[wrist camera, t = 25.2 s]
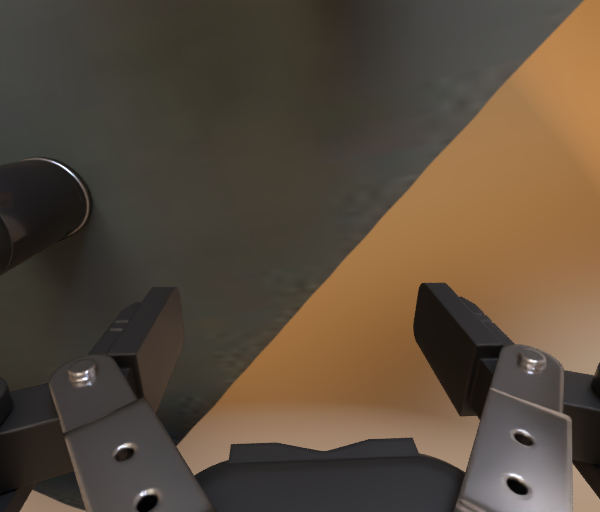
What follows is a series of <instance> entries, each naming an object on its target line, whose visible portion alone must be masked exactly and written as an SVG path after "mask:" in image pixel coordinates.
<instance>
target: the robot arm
mask: <svg viewBox="0 0 600 512" xmlns="http://www.w3.org/2000/svg"><path fill="white" fill-rule="evenodd" d="M91 209H92V201H91V196H90V193H89V190H88V188H87V186H86V184H85V182H84V181H83V179H82V178H81V177H80V176H79V175H78V174H77V173H76V172H75V171H74V170H73V169H72V168H70V167H69V166H67V165H66V164H64V163H62V162H60V161H57V160H55V159H51V158H45V157H35V158H29V159H25V160H22V161H19V162H15V163H9V164H4V165H0V276H1V275H2V274H4V273H6V272H7V271H9V270H11V269H12V268H14V267H16V266H17V265H19V264H21V263H22V262H24V261H26V260H27V259H29V258H31V257H32V256H34V255H36V254H37V253H39V252H41V251H42V250H44V249H46V248H48V247H49V246H51V245H53V244H54V243H56V242H58V241H61V240H63V239H65V238H67V237H66V236H68V235H70V234H72V233H74V232H76V231H78V230H79V229H81V228H82V227H83V226H84V225H85V224H86V222H87V221H88V219H89V217H90V214H91ZM76 233H77V232H76ZM74 234H75V233H74ZM74 234H72V235H74ZM72 235H70V236H72ZM70 236H68V237H70ZM64 237H65V238H64ZM413 329H414V336H415V340H416V342H417V344H418V345H419V347H420V349H421V351H422V352H423V354H424V356H425V357H426V359H427V361H428V362H429V364H430V366H431V368H432V369H433V371H434V373H435V375H436V376H437V378H438V380H439V381H440V383H441V385H442V386H443V388H444V390H445V392H446V393H447V395H448V397H449V398H450V400H451V402H452V404H453V405H454V407H455V409H456V410H457V412H458V414H459V415H460V416H478V418H479V419H480V423H479V427H478V430H477V434H476V438H475V441H474V444H473V448H472V451H471V455H470V458H469V462H468V466H467V469H466V472H463V471H462V470H460V469H459V468H457V467H455V466H453V465H451V464H449V463H447V462H445V461H442V460H440V459H437V458H435V457H432V456H428V455H425V454H420V453H418V450H417V448H416V445H415V443H414V440H413V438H393V439H368V440H365V441H361V442H358V443H354V444H350V445H347V446H343V447H340V448H337V449H333V450H329V451H318V450H312V449H307V448H301V447H296V446H291V445H286V444H281V443H256V444H231V449H230V456H229V460H228V461H224V462H221V463H218V464H216V465H213V466H211V467H209V468H207V469H205V470H203V471H201V472H199V473H198V474H196V475H195V476H194V475H193V473H192V472H191V470H190V468H189V467H188V465H187V463H186V462H185V460H184V459H183V457H182V456H181V454H180V452H179V451H178V449H177V447H176V446H175V444H174V442H173V441H172V439H171V438H170V436H169V434H168V433H167V431H166V430H165V428H164V426H163V425H162V423H161V421H160V420H159V418H158V417H157V415H156V411H157V409H158V406H159V404H160V401H161V399H162V396H163V394H164V392H165V389H166V387H167V384H168V382H169V379H170V377H171V374H172V372H173V369H174V367H175V364H176V362H177V359H178V357H179V354H180V352H181V349H182V347H183V342H184V325H183V317H182V309H181V301H180V294H179V290H178V288H177V287H153V288H152V289H151V290H150V291H149V293H148V294H147V295H146V297H145V298H144V300H143V301H142V302H135V303H134V304H132V305H130V306H129V307H127V308H126V309H124V310H123V311H121V313H120V314H119V315H118V317H117V318H116V319H115V321H114V323H112V324H111V326H110V327H109V328H108V331H106V332H105V333H104V335H103V336H102V337H101V339H100V340H99V341H98V343H97V344H96V345H95V346H94V348H93V349H92V350H91V352H90V353H89V354H88V355H86V356H82V357H78V358H76V359H73V360H71V361H69V362H67V363H65V364H63V365H62V366H60V367H59V368H58V369H57V370H56V371H55V372H54V373H53V374H52V375H51V377H50V379H49V383H47V384H43V385H39V386H35V387H30V388H26V389H21V390H17V391H13V392H10V391H9V388H8V386H7V383H6V381H5V380H4V379H2V378H0V512H19V511H20V510H21V508H22V506H23V505H24V503H25V501H26V500H27V498H28V496H29V494H30V493H31V491H32V489H33V488H34V486H35V484H36V483H37V482H40V481H43V480H47V479H50V478H53V477H56V476H60V475H63V474H66V473H69V472H73V471H75V475H76V478H77V481H78V485H79V488H80V491H81V495H82V498H83V501H84V505H85V508H86V511H87V512H573V486H572V484H573V483H572V463H573V464H574V466H575V467H576V468H577V470H578V471H579V472H580V474H581V475H582V476H583V478H584V479H585V480H586V482H587V483H588V484H589V485H590V487H591V488H592V489H593V491H594V492H595V493H596V495H597V496H598V497H599V499H600V363H599V365H598V367H597V370H596V372H595V375H588V374H582V373H577V372H571V371H565V370H564V369H563V366H562V365H561V364H560V362H559V361H558V360H557V359H555V358H554V357H553V356H551V355H550V354H548V353H546V352H544V351H542V350H539V349H537V348H534V347H530V346H525V345H518V344H514V343H513V342H512V341H511V340H510V339H509V338H508V337H507V336H506V335H505V334H504V333H503V332H502V331H501V330H500V329H499V328H498V327H497V326H496V325H495V324H494V323H492V321H491V320H490V319H489V318H488V317H487V316H486V315H484V313H483V312H482V311H481V310H480V309H479V308H478V307H477V306H476V305H475V304H474V303H472V302H470V301H468V300H466V299H465V298H463V297H458V295H456V293H455V292H454V291H453V290H452V289H451V288H450V287H449V286H448V285H447V284H446V283H422V284H421V285H420V287H419V292H418V297H417V304H416V311H415V317H414V325H413Z"/></svg>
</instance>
